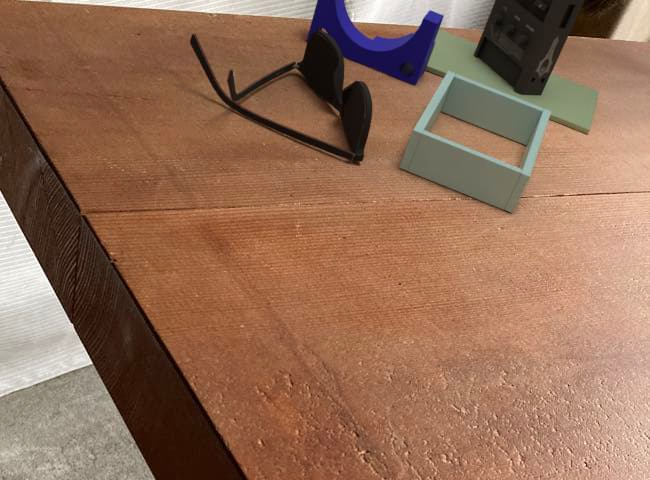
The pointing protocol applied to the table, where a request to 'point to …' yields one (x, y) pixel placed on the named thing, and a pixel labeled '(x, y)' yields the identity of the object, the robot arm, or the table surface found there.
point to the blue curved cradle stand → (379, 42)
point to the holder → (469, 165)
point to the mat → (558, 95)
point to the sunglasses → (327, 81)
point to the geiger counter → (526, 40)
